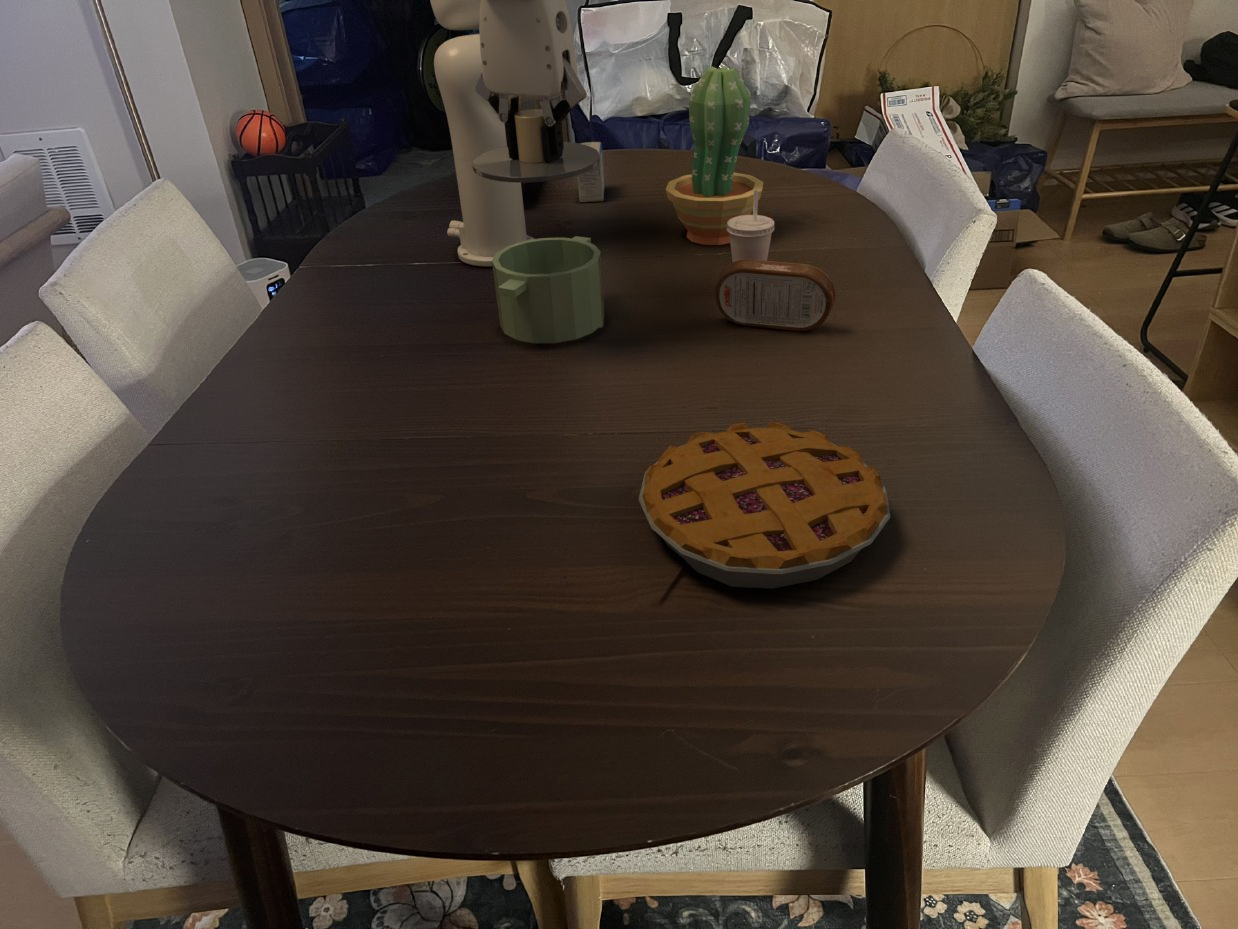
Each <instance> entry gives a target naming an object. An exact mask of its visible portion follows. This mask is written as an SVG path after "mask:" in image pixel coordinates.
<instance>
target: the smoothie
mask: <svg viewBox="0 0 1238 929" xmlns="http://www.w3.org/2000/svg"><path fill="white" fill-rule="evenodd" d="M758 204H759V200H758V189H755V190H754V202H753V210H752V214H751V215H742V216H737V217H734V218H732V219H730V220H729V221H728V222H727V231H728V232H729V234H730V243H729V244H730V254H731V263H733V262H735V261H738V260H742V259H753V260H764V261H768V258H769V252H770V246H771V245H770V244H771V239H772V238H771V237H772V233H774V231H775V220H774V219H773V218H771V217H768V216H766V215H762V214H761V215H760V214H758Z"/></svg>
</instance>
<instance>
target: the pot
mask: <svg viewBox="0 0 1238 929" xmlns="http://www.w3.org/2000/svg"><path fill="white" fill-rule="evenodd" d="M601 255H602V254H601V250H600V249H599V248H598V247H597V246H596V245H595V244H594V243H592V238H591V237H586V236H577V235H575V236H574V237H572V238H570V237H541V238H534V240H527V241H522V242H519V243H516V244H513V245H510V246H507V247H506V248H504V249H502V250H501V251H499V252H497V253H496V254H495V256H494V258H493V260H492V266H493V267H492V273H493V280H494V288H495V295H496V296H495V297H496V302H497V311H498V318H499V319H498V320H499V326H500V328H501V330H502V332H503V334H504V335H507V336H508V337H510V338H512V339H514V340H516V341H519V342H524V343H529V344H530V343H531V344H559V343H565V342H570V341H576V340H578V339H581V338H583V337H586V336H588V335H591V334H593V333H594V332H596V331H597V330H598V329H600V328H601V329H602V328H603V327H604V324H605V319H604V318H605V303H604V302H605V301H604V286H603V272H602V271H603V270H602V256H601Z"/></svg>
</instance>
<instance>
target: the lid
mask: <svg viewBox="0 0 1238 929" xmlns="http://www.w3.org/2000/svg"><path fill="white" fill-rule="evenodd" d="M514 117H515V126H516V136H517V145H518V155H519V157H517V158H515V159H511V158H510V157H509V151H508V147H507V146H504V147H500V148H496V149H493V150H490V151H488V152H485V153H483V154H481V155H479V156H478V157H476V158H475V159H474V161H473V164H472V166H473V170H474V172H475V173H476V174H477V175H479V176H481V177H483V178H486V179H490V180H495V181H502V182H517V183H526V184H527V183H544V182H550V181H556V180H557V181H558V180H563V179H568V178H572V177H577V175H579V174H582V173H585V172H587V171H589V170H591V169H593V168H594V167H596V166H597V165H598V164H599V162H600V154H599V152H598V151H597V150H596V149H594V148H592V147H590V146H587V145H583V144H580V143H578V142H571V141H563V143H564V149H563V155H562V157H560V158H558V159H556V160H554V161H552V162H545V161H544V156H543V145H542V135H541V128H542V126H544V125H545V121H544V117H543V112H542V108H540V109H539V108H535V109H534V108H531V109H524V110H521V111H520V112H517V113H515V114H514Z"/></svg>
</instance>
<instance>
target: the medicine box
mask: <svg viewBox="0 0 1238 929" xmlns="http://www.w3.org/2000/svg"><path fill="white" fill-rule="evenodd" d="M579 144H583V145H587V146H590V147H592V148H594V149H596V150H597V151H598V152H599V154H600V162H599V164H598V165H597V166H596V167H594V168H593V169H591V170H589V171H587V172H585V173H582V174H579V175H576V177H577V178H576V179H577V191H578V200H579V202H580V203H596V202H598V203H599V202H603V201H604V199H605V172H604V159H603V144H602V142H601V141H591V142H590V141H589V142H580V143H579Z"/></svg>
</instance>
